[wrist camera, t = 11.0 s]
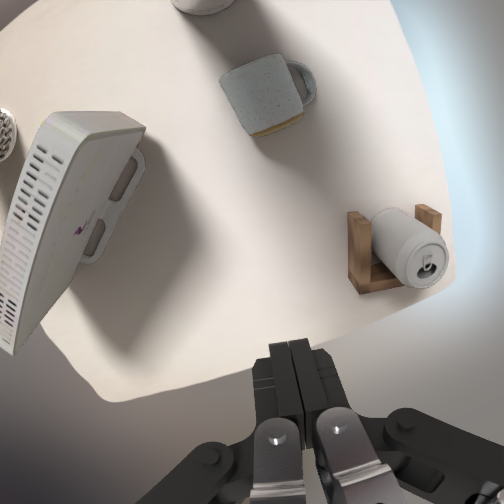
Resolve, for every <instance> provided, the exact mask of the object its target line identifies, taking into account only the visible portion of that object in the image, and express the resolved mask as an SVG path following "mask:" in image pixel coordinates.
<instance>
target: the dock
mask: <svg viewBox="0 0 504 504" xmlns="http://www.w3.org/2000/svg"><path fill="white" fill-rule="evenodd" d="M347 214H348V278H349V279H350V281H351V282H352V284H353V285H354V287H355V288H356V290H357V291H358V293H359V294H365V293H370V292H375V291H380V290H385V289H390V288H395V287H400V286H405V285H404V284H402V283H401V282H400V280H399V279H398V278H397V277H396V276H395V275H394V274H393V273H392V272H391V271H390V270H389V268H388V267H387V266H386V265H385V264H384V263H378V264H373V265H371V233H372V223H371V222H370V221H368V220H367V219H366V218H365V217H364V216H362V215H361V214H360V213H359V212H350V213H347ZM441 217H442V214H441V213H439V212H437V211H435V210H434V209H432V208H430V207H428V206H426V205H425V204H419V205H415V219H417V220H419V221H420V222H422V223H423V224H425V225H426V226H428V227H429V228H431V229H432V230H434V231H435V232H437V233H438V234H439V235H440V231H441Z"/></svg>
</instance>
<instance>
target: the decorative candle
mask: <svg viewBox="0 0 504 504" xmlns="http://www.w3.org/2000/svg"><path fill="white" fill-rule="evenodd" d="M16 137H17V127H16V122H15V119H14V117H13V116H12V114H11V112H9V111H8V110H6V109H0V162H1V161H3V160H5V159H7V158H8V156H9V155H10V154H11V152H12V151H13V148H14V146H15V143H16Z"/></svg>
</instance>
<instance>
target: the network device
mask: <svg viewBox="0 0 504 504" xmlns="http://www.w3.org/2000/svg"><path fill="white" fill-rule="evenodd" d="M145 130H146V127H145V126H144V125H142V124H140V123H139V122H137V121H135V120H134V119H132V118H130V117H129V116H127V115H125V114H123V113H122V112H112V111H62V112H54V113H52V114H51V115H49V116H48V117H47V118H46V119H45V120H44V121H43V123H42V124H41V126H40V127H39V129H38V131H37V133H36V135H35V138H34V140H33V143H32V145H31V147H30V150H29V153H28V155H27V158H26V160H25V163H24V166H23V169H22V171H21V174H20V177H19V180H18V183H17V186H16V189H15V192H14V195H13V199H12V202H11V205H10V209H9V212H8V216H7V220H6V224H5V227H4V231H3V236H2V240H1V244H0V347H1V348H3V349H4V350H5V351H7V352H8V353H9V354H11V355H12V356H15V355H16V354H17V353H18V352H19V350H20V349H21V347H22V346H23V345H24V343H25V342H26V340H27V339H28V338H29V336H30V335H31V334H32V332H33V331H34V329H35V328H36V327H37V326H38V324H39V323H40V322H41V320H42V319H43V318H44V316H45V315H46V314H47V313H48V311H49V310H50V309H51V307H52V306H53V305H54V304H55V302H56V301H57V300H58V299H59V297H60V296H61V295H62V294H63V292H64V291H65V290H66V289H67V288H68V286H69V284H70V283H71V281H72V279H73V277H74V274H75V272H76V269H77V267H78V265H79V262H81V263H84V264H91V263H94V262H96V261H97V260H98V259H99V258H100V256H101V254H102V252H103V250H104V248H105V246H106V244H107V242H108V240H109V238H110V236H111V234H112V232H113V230H114V228H115V226H116V224H117V222H118V220H119V218H120V216H121V214H122V212H123V210H124V208H125V207H126V205H127V203H128V201H129V199H130V197H131V195H132V194H133V192H134V190H135V188H136V186H137V185H138V183H139V181H140V179H141V178H142V176H143V173H144V170H145V160H144V156H143V154H142V152H141V151H140V150H139V149H138V148H137V145H138V143H139V142H140V140H141V138H142V137H143V135H144V133H145ZM131 156H132V157H133V158H135V160H136V161H137V164H138V167H137V170H136V172H135V174H134V176H133V177H132V179H131V181H130V183H129V185H128V187H127V188H126V190H125V192H124V194H123V196H122V198H121V199H120V200H119V201H112V200H111V199H109V197H110V195H111V193H112V191H113V189H114V187H115V185H116V183H117V181H118V179H119V177H120V176H121V174H122V172H123V170H124V168H125V166H126V165H127V163H128V161H129V159H130V157H131ZM98 219H102V220H103V221H104V223H105V226H106V228H105V232H104V234H103V236H102V238H101V240H100V242H99V244H98V246H97V249H96V251H95V253H94V255H93V256H87V255H85V254H83V253H84V250H85V248H86V246H87V243H88V241H89V239H90V237H91V234H92V232H93V230H94V228H95V226H96V223H97V221H98Z"/></svg>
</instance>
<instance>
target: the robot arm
mask: <svg viewBox="0 0 504 504" xmlns="http://www.w3.org/2000/svg"><path fill="white" fill-rule="evenodd" d="M234 1H235V0H171V2H172V3H173V5H174V6H175V7H177V8H178V9H179V10H181V11H183V12H185V13H188V14H192V15H210V14H214V13H217V12H219V11H222V10H224V9H225V8H227V7H229V6H230V5H231V4H232V3H233V2H234ZM288 344H289V346H288ZM269 351H270V357H268V358H261V359H257V360H256V362H255V364H254V366H253V368H252V374H253V386H254V397H255V410H256V427H255V429H254V431H253V433H252V434H251V435H250V436H249V437H248V438H246V439H245V440H243V441H241V442H238V443H235V444H233V445H230V446H226V445H225V444H222V443H219V442H207V443H203V444H201V445H199V446H197V447H196V448H195V449H194V450H193V451H192V452H191V453H190V454H188V455H187V457H185V458H184V459H183V460H182V461H181V462H180V463H179V464H178V465H177V466H176V467H175V468H174V469H173V470H172V471H171V472H170V473H169V474H168V475H166V476H165V477H164V478H163V479H162V480H161V481H160V482H159V483H158V484H157V485H156V486H155V487H153V488H152V489H151V490H150V491H149V492H148V493H147V494H146V495H144V496H143V497H142V498H141V499H140V500H139V501H138V502H136V503H135V504H241V503H242V502H243V501H244V499H245V498H246V497H249V496H250V504H306V495H305V486H304V479H303V468H302V465H303V463H302V450H304V449H305V444H306V449H310V448H313V449H314V454H315V466H316V469H317V472H318V475H319V479H320V481H321V485H322V488H323V491H324V494H325V497H326V500H327V504H408V503H407V501H406V499H405V497H404V494H403V492H402V490H401V488H403V489H405V490H407V491H409V492H411V493H413V494H415V495H417V496H419V497H421V498H423V499H426V500H428V501H430V502H432V503H434V504H504V446H502V445H499V444H496V443H494V442H491V441H488V440H486V439H484V438H481V437H479V436H476V435H473V434H471V433H469V432H466V431H464V430H461V429H459V428H457V427H454V426H452V425H449V424H447V423H445V422H443V421H440V420H438V419H435V418H433V417H431V416H429V415H427V414H424V413H422V412H420V411H418V410H415V409H412V408H401V409H397V410H395V411H393V412H392V413H391V414H390V415H389V416H388V417H387V418H368V417H363V416H361V415H359V414H357V413H355V412H354V411H353V410H352V409H351V407H350V405H349V403H348V400H347V398H346V395H345V392H344V389H343V387H342V384H341V381H340V379H339V376H338V373H337V370H336V368H335V365H334V362H333V360H332V357H331V356H330V355H329V354H328V353H327V352H326V351H325V350H324V349H317V350H311V348H310V344H309V341H308V339H307V338H304V339H298V340H292V341H288V342H287V341H286V342H280V343H273V344H269ZM400 487H401V488H400Z"/></svg>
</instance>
